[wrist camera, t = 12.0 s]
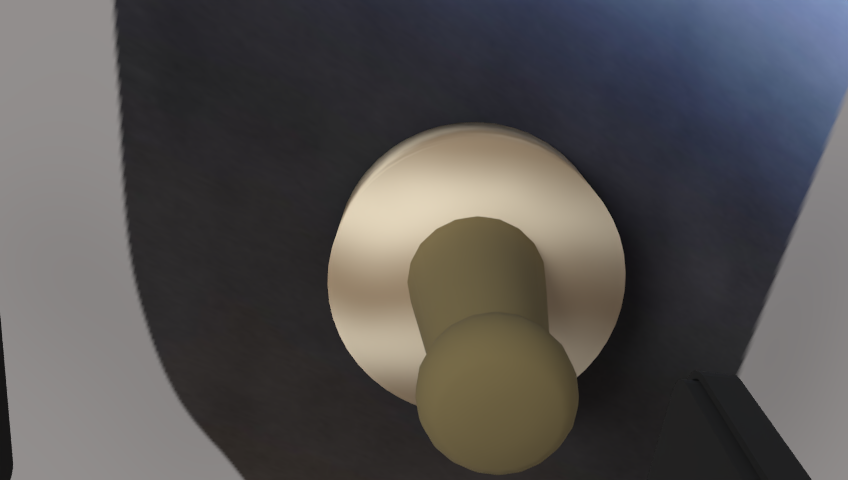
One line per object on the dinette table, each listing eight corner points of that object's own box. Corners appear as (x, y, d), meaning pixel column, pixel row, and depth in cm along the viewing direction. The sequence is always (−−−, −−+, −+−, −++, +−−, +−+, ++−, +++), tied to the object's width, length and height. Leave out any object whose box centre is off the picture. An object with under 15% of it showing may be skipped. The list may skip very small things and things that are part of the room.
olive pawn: (431, 198, 32) (437, 308, 22) (566, 239, 33) (634, 365, 22) (390, 323, 34) (376, 478, 24) (518, 359, 34) (559, 526, 24)
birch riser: (355, 101, 35) (346, 117, 31) (633, 145, 35) (659, 166, 32) (322, 354, 39) (312, 395, 35) (572, 388, 40) (588, 432, 36)
